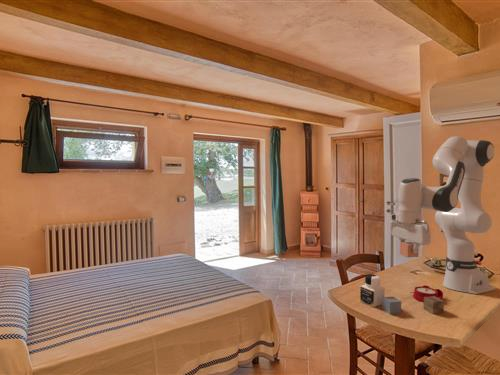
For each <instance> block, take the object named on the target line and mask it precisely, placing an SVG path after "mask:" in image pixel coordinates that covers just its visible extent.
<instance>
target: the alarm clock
mask: <svg viewBox="0 0 500 375" xmlns="http://www.w3.org/2000/svg"><path fill="white" fill-rule="evenodd" d="M413 290H414V291H411V292H410V294H412V293H413V294H412V298H413V299H415V300H417V301H418V302H423V303H424V297H432V296H435V297H437V298H439V299H443V298H444V293H443V292H444V291H442V290H441V289H439V288H432V287H430V286H429V285H421V286H415V287H414V289H413Z"/></svg>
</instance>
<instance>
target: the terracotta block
mask: <svg viewBox="0 0 500 375" xmlns="http://www.w3.org/2000/svg"><path fill="white" fill-rule="evenodd" d="M413 247H414V245H413V242H411V241H407V242H406V241H405V242H402V243H400V242H399V255H400V256H402V257H403V256H404V257H406V258H418V257H419V249H420V247H419V248H418V253H412V252H411V251H412V250H411V248H413Z"/></svg>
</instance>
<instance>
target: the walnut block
mask: <svg viewBox="0 0 500 375" xmlns="http://www.w3.org/2000/svg"><path fill="white" fill-rule="evenodd" d="M444 305H445V301H444V300H443V299H442V298H439V297H438V298H437V297H435V296H432V297H424V302H423V310H425V311H427V312H428V313H429V314H432V315H437V314H444V312H445V310H444V308H445V306H444Z"/></svg>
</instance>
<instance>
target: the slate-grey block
mask: <svg viewBox="0 0 500 375" xmlns="http://www.w3.org/2000/svg"><path fill="white" fill-rule="evenodd" d="M381 307H382V308H381V309H382V310H383V311H385V312H386V313H387V314H389V315H397V314H398V315H399V314H402V301H401V300H400V299H398V298H396V297H394V296H385V297H382V305H381Z"/></svg>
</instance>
